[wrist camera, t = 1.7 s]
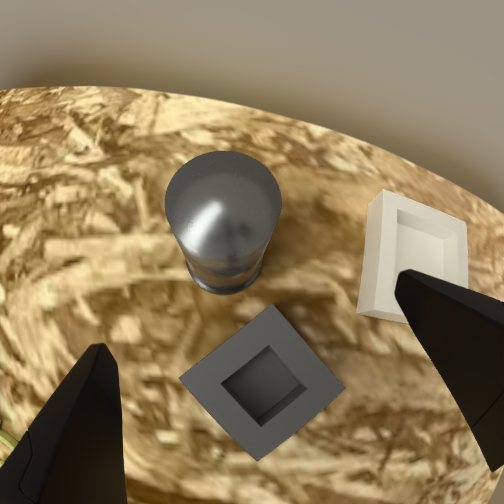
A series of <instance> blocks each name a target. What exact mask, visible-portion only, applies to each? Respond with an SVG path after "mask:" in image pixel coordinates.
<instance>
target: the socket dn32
mask: <svg viewBox="0 0 504 504" xmlns="http://www.w3.org/2000/svg"><path fill="white" fill-rule="evenodd" d="M179 379H180V381H181V382H182V383H183V384H184V385H185V387H186V388H187V389H188V390H189V391H190V393H191V394H192V395H193V396H194V397H195V398H196V399H197V401H198V402H199V403H200V404H201V405H202V406H203V407H204V408H205V410H206V411H207V412H208V413H209V414H210V415H211V416H212V417H213V418H214V419H215V420H216V421H217V423H218V424H219V425H220V426H221V427H222V428H223V429H224V430H225V431H226V432H227V433H228V434H229V435H230V436H231V437H232V438H233V439H234V440H235V441H236V442H237V443H238V444H239V445H240V446H241V447H242V448H243V449H244V450H245V451H246V452H247V453H248V454H249V455H251V456H252V457H253V458H254V459H255V460H256V461H259V460H260V459H261V458H263V457H264V456H266V455H267V454H268V453H270V452H271V451H272V450H274V449H275V448H276V447H278V446H279V445H280V444H282V443H283V442H284V441H286V440H287V439H288V438H289V437H291V436H292V435H293V434H294V433H296V432H297V431H298V430H299V429H300V428H302V427H303V426H304V425H305V424H306V423H308V422H309V421H310V420H311V419H312V418H313V417H315V416H316V415H317V414H318V413H319V412H320V411H321V410H323V409H324V408H325V407H326V406H327V405H328V404H329V403H330V402H331V401H332V400H333V399H335V398H336V397H337V396H338V395H339V394H340V393H341V392H342V391H343V390H344V389H345V387H344V386H343V385H342V383H341V382H340V381H339V380H338V379H337V378H336V377H335V375H334V374H333V373H332V372H331V371H330V370H329V369H328V367H327V366H326V365H325V364H324V363H323V362H322V361H321V359H320V358H319V357H318V356H317V355H316V354H315V352H314V351H313V350H312V349H311V348H310V347H309V346H308V344H307V343H306V342H305V341H304V340H303V339H302V337H301V336H300V335H299V334H298V333H297V332H296V330H295V329H294V328H293V327H292V326H291V325H290V323H289V322H288V321H287V320H286V319H285V318H284V316H283V315H282V314H281V313H280V312H279V311H278V309H277V308H276V307H275V306H274V305H273V303H272V304H271V305H270V306H268V307H267V308H266V309H265V310H263V311H262V312H261V313H260V314H259V315H257V316H256V317H255V318H254V319H252V320H251V321H250V322H249V323H248V324H246V325H245V326H244V327H243V328H241V329H240V330H239V331H238V332H237V333H235V334H234V335H233V336H232V337H230V338H229V339H228V340H227V341H225V342H224V343H223V344H221V345H220V346H219V347H218V348H216V349H215V350H214V351H213V352H211V353H210V354H209V355H207V356H206V357H205V358H204V359H202V360H201V361H200V362H198V363H197V364H196V365H194V366H193V367H192V368H191V369H189V370H188V371H187V372H185V373H184V374H183V375H182V376H180V377H179Z"/></svg>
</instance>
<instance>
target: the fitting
mask: <svg viewBox="0 0 504 504" xmlns="http://www.w3.org/2000/svg"><path fill="white" fill-rule="evenodd" d="M281 206H282V199H281V192H280V189H279V186H278V183H277V181H276V179H275V178H274V176H273V175H272V173H271V172H270V171H269V170H268V169H267V168H266V167H265V166H264V165H263V164H262V163H260V162H259V161H257V160H256V159H254V158H252V157H250V156H248V155H245V154H242V153H238V152H233V151H215V152H209V153H206V154H202V155H200V156H197V157H195V158H193V159H192V160H190V161H188V162H187V163H186V164H184V165H183V166H182V167H181V168H180V169H179V170H178V171H177V172H176V173H175V175H174V176H173V178H172V179H171V181H170V183H169V185H168V188H167V191H166V195H165V213H166V216H167V220H168V222H169V224H170V226H171V229H172V231H173V233H174V235H175V237H176V239H177V241H178V243H179V246H180V248H181V250H182V252H183V254H184V256H185V258H186V264H187V268H188V271H189V273H190V275H191V277H192V278H193V280H194V281H195V282H196V283H197V284H198V285H199V286H200V287H201V288H203V289H204V290H206V291H208V292H210V293H213V294H217V295H231V294H235V293H238V292H240V291H242V290H244V289H246V288H247V287H248V286H250V285H251V284H252V283H253V281H254V280H255V279H256V277H257V275H258V273H259V271H260V268H261V265H262V257H263V254H264V252H265V250H266V247H267V245H268V243H269V240H270V238H271V236H272V233H273V231H274V229H275V226H276V224H277V222H278V219H279V216H280V213H281Z"/></svg>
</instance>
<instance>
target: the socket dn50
mask: <svg viewBox="0 0 504 504" xmlns="http://www.w3.org/2000/svg"><path fill="white" fill-rule="evenodd" d="M406 269H413V270H416V271H419V272H422V273H425V274H427V275H430V276H433V277H436V278H439V279H442V280H445V281H448V282H450V283H453V284H456V285H459V286H462V287H464V288H467V289H468V245H467V229H466V222H463V221H461V220H459V219H457V218H455V217H452V216H450V215H448V214H445V213H443V212H441V211H438V210H436V209H434V208H431V207H429V206H426V205H424V204H421V203H419V202H416V201H414V200H411V199H409V198H406V197H404V196H401V195H398V194H396V193H393V192H390V191H387V190H385V189H382V190H381V191H380V192H379V194H378V195H377V196H376V197H375V198H374V199H373V200H372V201H371V202H370V203H369V204H368V209H367V224H366V236H365V247H364V257H363V266H362V274H361V282H360V289H359V296H358V303H357V310H356V314H360V315H365V316H370V317H375V318H380V319H385V320H390V321H395V322H401V323H406V324H409V323H408V321H407V319H406V317H405V315H404V314H403V312H402V310H401V308H400V306H399V305H398V303H397V301H396V299H395V295H394V291H395V286H396V281H397V276H398V274H399V272H401V271H403V270H406Z"/></svg>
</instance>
